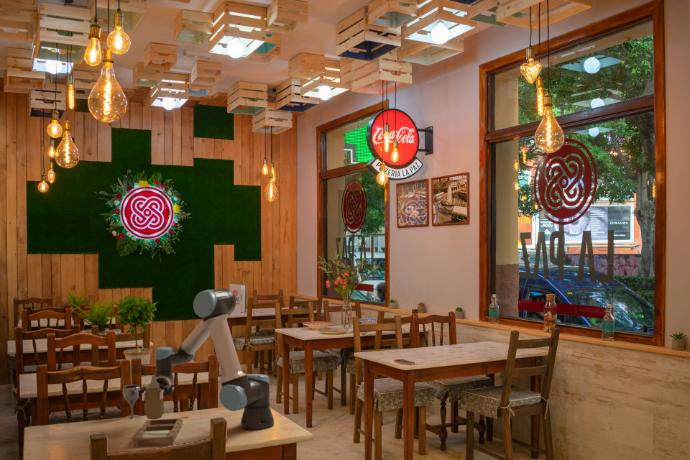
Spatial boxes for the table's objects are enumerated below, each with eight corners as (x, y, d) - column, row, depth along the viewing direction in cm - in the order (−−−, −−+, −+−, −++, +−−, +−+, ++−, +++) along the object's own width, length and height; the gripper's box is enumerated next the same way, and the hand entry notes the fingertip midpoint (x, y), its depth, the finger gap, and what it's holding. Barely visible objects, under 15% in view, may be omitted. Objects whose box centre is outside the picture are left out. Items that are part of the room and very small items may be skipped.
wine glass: (133, 414, 324) (133, 384, 325) (144, 416, 320) (143, 385, 320) (120, 418, 318) (119, 387, 318) (130, 420, 313) (129, 388, 314)
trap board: (146, 426, 300) (146, 419, 300) (182, 424, 302) (182, 417, 302) (132, 447, 268) (132, 439, 268) (172, 444, 270) (172, 436, 270)
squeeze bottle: (158, 420, 270) (157, 377, 271) (140, 420, 272) (140, 376, 273) (167, 415, 278) (166, 373, 279) (150, 415, 280) (149, 373, 281)
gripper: (183, 392, 294) (176, 404, 272) (138, 395, 292) (128, 407, 269) (182, 376, 295) (175, 386, 272) (138, 378, 292) (127, 388, 270)
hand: (151, 396), depth 271 cm, fingers closed on squeeze bottle, 6 cm apart
